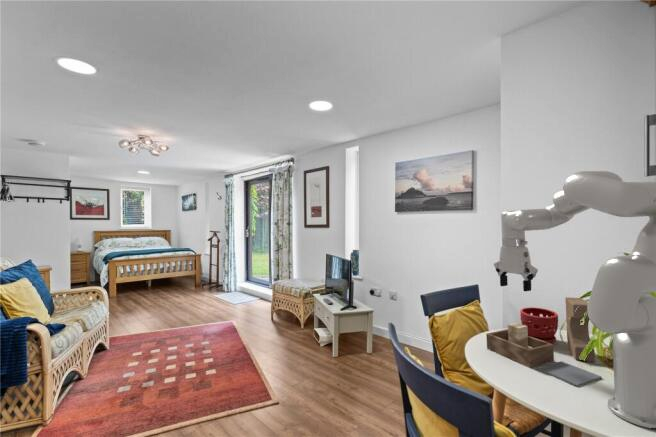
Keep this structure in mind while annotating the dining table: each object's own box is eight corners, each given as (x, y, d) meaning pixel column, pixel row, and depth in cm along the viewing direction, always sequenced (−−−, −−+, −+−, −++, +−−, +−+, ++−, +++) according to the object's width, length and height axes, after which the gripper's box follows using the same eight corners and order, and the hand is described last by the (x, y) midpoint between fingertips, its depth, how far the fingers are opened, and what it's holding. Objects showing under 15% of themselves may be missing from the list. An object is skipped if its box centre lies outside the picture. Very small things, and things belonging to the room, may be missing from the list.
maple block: (528, 347, 117) (527, 326, 117) (519, 349, 115) (518, 328, 115) (517, 343, 121) (516, 322, 121) (508, 345, 120) (507, 324, 120)
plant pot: (514, 338, 134) (513, 310, 134) (532, 332, 140) (531, 305, 140) (548, 349, 122) (546, 318, 122) (565, 341, 128) (564, 312, 128)
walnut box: (554, 361, 112) (553, 344, 112) (530, 368, 108) (529, 350, 108) (509, 343, 129) (508, 328, 129) (487, 348, 125) (486, 333, 125)
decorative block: (595, 363, 109) (592, 305, 110) (575, 360, 112) (572, 304, 112) (585, 350, 119) (583, 298, 119) (567, 348, 122) (565, 297, 122)
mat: (601, 378, 99) (601, 376, 99) (576, 386, 95) (576, 384, 95) (561, 362, 110) (561, 361, 110) (538, 369, 106) (538, 368, 106)
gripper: (543, 244, 112) (544, 291, 112) (500, 241, 128) (502, 283, 128) (528, 245, 109) (530, 294, 109) (487, 242, 125) (488, 285, 125)
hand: (515, 288), depth 119 cm, fingers open, 9 cm apart
